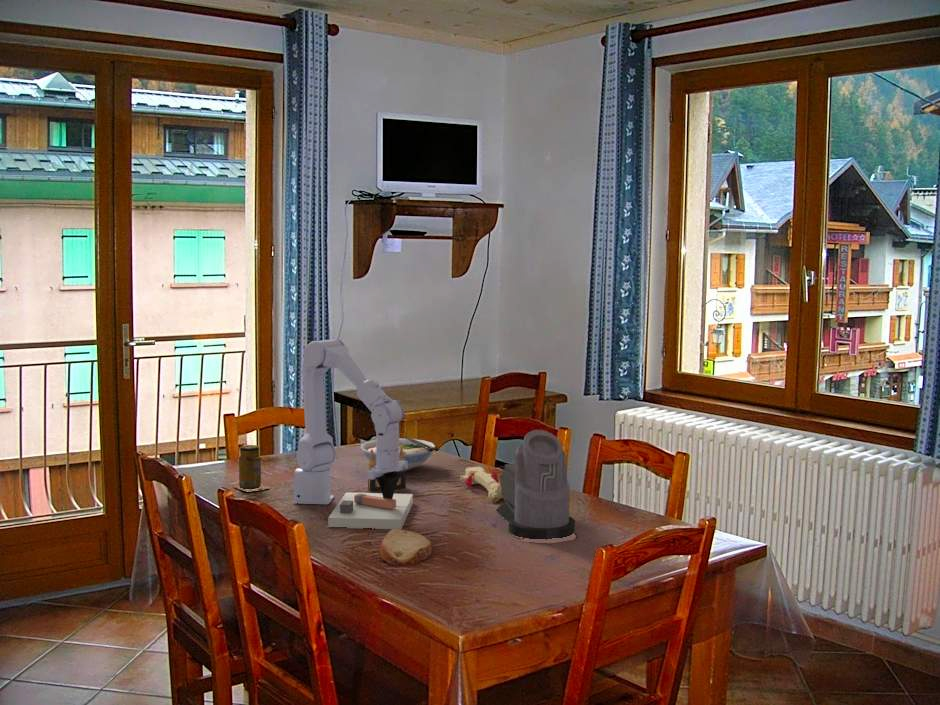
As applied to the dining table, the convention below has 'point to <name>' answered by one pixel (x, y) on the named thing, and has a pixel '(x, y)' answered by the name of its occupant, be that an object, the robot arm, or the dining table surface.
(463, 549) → the dining table surface
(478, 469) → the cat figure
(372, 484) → the ammunition clip
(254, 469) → the condiment
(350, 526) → the pale square platform
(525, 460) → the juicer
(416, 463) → the ramen bowl
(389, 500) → the bar
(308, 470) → the robot arm
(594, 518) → the dining table surface
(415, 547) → the bread slice
